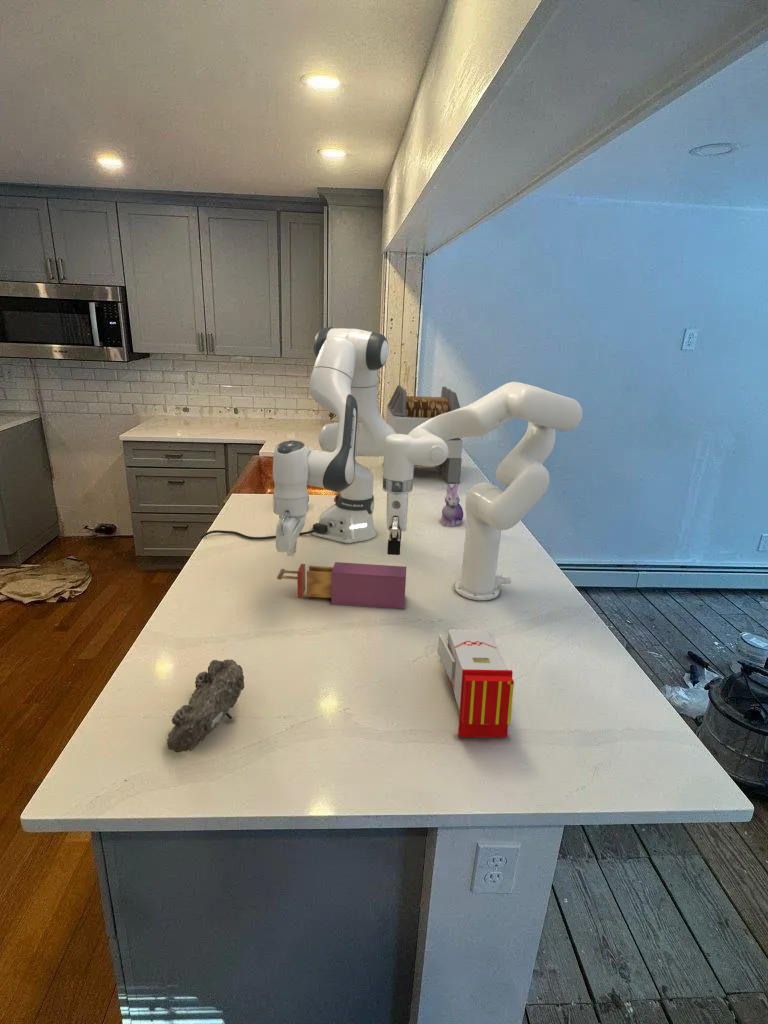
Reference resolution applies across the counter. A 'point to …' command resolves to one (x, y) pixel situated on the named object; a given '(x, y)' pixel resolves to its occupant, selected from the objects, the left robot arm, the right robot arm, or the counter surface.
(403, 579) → the cabinet
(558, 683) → the counter surface
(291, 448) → the left robot arm
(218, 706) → the fossil
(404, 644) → the counter surface
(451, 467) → the transformer
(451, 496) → the figurine
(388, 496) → the right robot arm
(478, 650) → the toy
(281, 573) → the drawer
